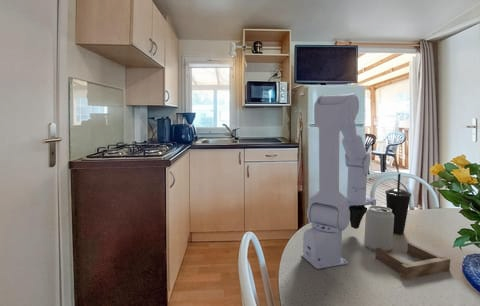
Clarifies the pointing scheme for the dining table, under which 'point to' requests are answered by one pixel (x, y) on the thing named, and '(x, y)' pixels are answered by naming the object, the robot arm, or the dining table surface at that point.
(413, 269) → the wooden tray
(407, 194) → the drinking cup
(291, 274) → the dining table surface
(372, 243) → the can
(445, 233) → the dining table surface
